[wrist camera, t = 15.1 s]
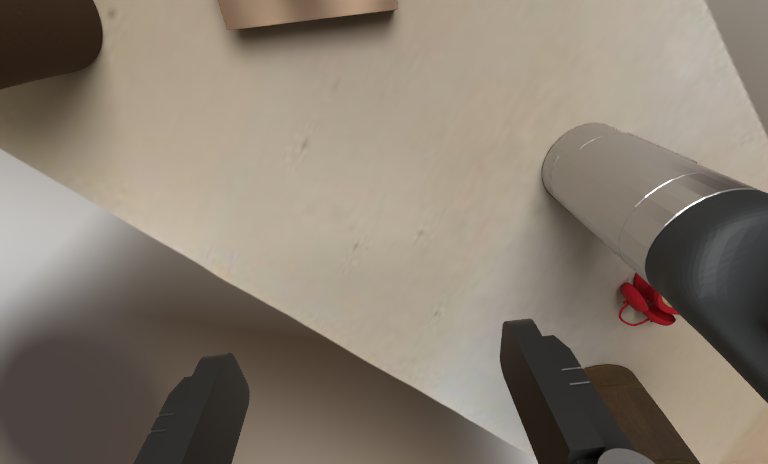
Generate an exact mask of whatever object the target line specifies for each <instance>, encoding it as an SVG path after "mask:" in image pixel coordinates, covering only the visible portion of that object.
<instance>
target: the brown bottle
mask: <svg viewBox="0 0 768 464" xmlns="http://www.w3.org/2000/svg"><path fill="white" fill-rule="evenodd" d="M101 40H102V30H101V23H100V19H99V15H98V12H97V9H96V7H95V5H94V3H93V1H92V0H0V89H3V88H7V87H11V86H15V85H19V84H22V83H26V82H30V81H34V80H39V79H43V78H47V77H52V76H56V75H61V74H65V73H69V72H74V71H77V70H80V69H82V68H84V67H86V66H87V65H89V64H90V63H91V62H92V61H93V60H94V59H95V57H96V56H97V54H98V52H99V49H100V46H101Z"/></svg>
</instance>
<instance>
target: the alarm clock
mask: <svg viewBox="0 0 768 464" xmlns="http://www.w3.org/2000/svg"><path fill="white" fill-rule="evenodd" d="M621 290H622V293H623V296H624V297H625V299H626V301H624V302H623V303H624V304H626V303H627V304H626V305H625V306H623V308H622V309H621V310H620V312H619V318H620V320H621V321H623V322H624V323H626V324H628V325H631V326H636V325H640V324H643V323H644V322H646V321H648V320H650V321H651V322H655V323H657V324H660V325H665V326H668V325H672V324H673V323H674V322H675V320H676V319H675V318H674V316H673V315H672V314H679V313H678V312H677V311H676V310H675V309H674V308H673V307H672V306H671V305H670V304H669V303H668V302H667V300H666V299H665V298H664V297H663V296H661V295H660V294H659V293H658V292H657V291H656V290H655V289H654V288H653V287H652V286H650V285H649V284H648V283H647V282H646V281H645V280H644V279H643V278H642V277H641V276H639V275H638V274H637V273H636V275H635V278H634V287H633V286H632V285H631V284H630V283H629V282H627V283H625V284H623V285H622V288H621ZM645 300H648V301H649V302H648V303H646V302H645ZM649 303H654V304H653V306H652V307H648V306H647V305H648V304H649ZM628 304H630V305H631V306H632V307H633V308H634V309H635V310H637V311H639V312H643V313H644V315H645V316H646V317H647V319H646V320H644V321H642V322H640V323H637V324H630V323H628V322H625V321H624V320H623V319H622V318H621V313H622V311H623V309H625V308H626V307H627V306H628Z"/></svg>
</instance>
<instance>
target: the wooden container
mask: <svg viewBox="0 0 768 464" xmlns="http://www.w3.org/2000/svg"><path fill="white" fill-rule="evenodd" d="M583 370H584V372H585V373H586V375H587V376H588V378H589V380H590V383H591V384H593V386H594V387H595V389H596V391H597V392H598V394H599V395H600V397H601V398H602V400H603V402H604V403H605V405H606V406H607V408H608V409H609V411H610V413H611V414H612V416H613V417H614V419H615V420H616V422H617V424H618V425H619V427H620V428H621V430H622V431H623V433H624V435H625V436H626V438H627V439H628V441H629V442H630V443H631V445H632V446H633V447H634V448H635V449H636V451H637V452H639V453H640V454H641V455H643V456H645V457H647V458H648V459H650V460H651V461H653V462H654V463H655V464H700V463H699V461H698V460H697V458H696V457H695V456H694V454H693V453H692V452H691V450H690V449H689V447H688V446H687V445H686V443H685V442H684V441H683V439H682V438H681V437H680V435H679V434H678V432H677V431H676V430H675V428H674V427H673V425H672V424H671V423H670V421H669V420H668V419H667V417H666V416H665V415H664V413H663V412H662V411H661V409H660V408H659V407H658V405H657V404H656V403H655V401H654V400H653V399H652V398H651V396H650V395H649V394H648V392H647V391H646V390H645V388H644V387H643V386H642V384H641V383H640V382H639V380H638V379H637V378H636V376H635V375H634V374H633V373H632V372H631V371H630V370H629V369H627V368H625V367H621V366H617V365H599V366H594V367H590V368H586V369H583Z"/></svg>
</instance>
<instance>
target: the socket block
mask: <svg viewBox="0 0 768 464" xmlns="http://www.w3.org/2000/svg"><path fill="white" fill-rule="evenodd" d="M218 1H219V5H220V8H221V12H222V15H223V19H224V22H225V25H226V29H227V30H236V29H246V28H254V27H262V26H270V25H278V24H286V23H294V22H302V21H311V20H319V19H327V18H335V17H343V16H351V15H359V14H367V13H376V12H384V11H392V10H397V9H398V5H397V0H218Z"/></svg>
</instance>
